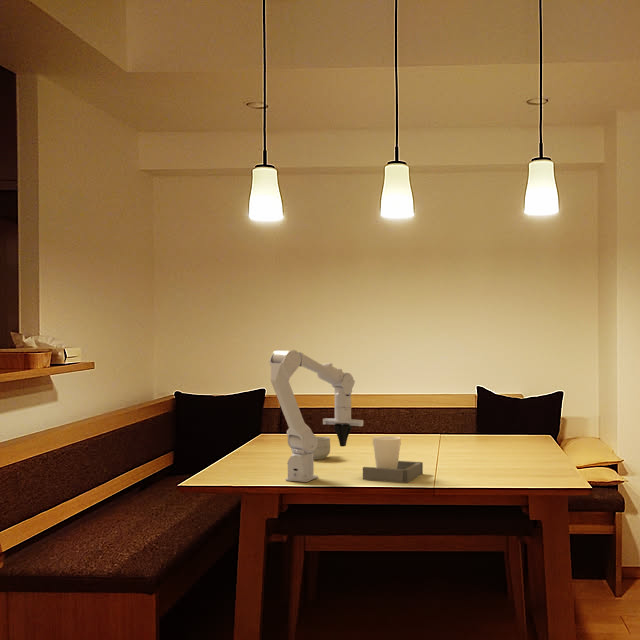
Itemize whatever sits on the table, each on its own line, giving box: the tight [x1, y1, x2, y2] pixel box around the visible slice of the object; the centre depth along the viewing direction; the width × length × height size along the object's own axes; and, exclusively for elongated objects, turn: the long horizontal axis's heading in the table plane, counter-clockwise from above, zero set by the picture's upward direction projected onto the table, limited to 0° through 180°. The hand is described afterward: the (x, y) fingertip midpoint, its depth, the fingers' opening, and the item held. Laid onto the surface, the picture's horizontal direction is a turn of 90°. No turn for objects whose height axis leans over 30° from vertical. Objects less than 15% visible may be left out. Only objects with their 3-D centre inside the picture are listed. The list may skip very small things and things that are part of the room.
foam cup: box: [372, 435, 402, 469], centre depth 280 cm, size 10×9×13 cm
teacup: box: [313, 436, 331, 461], centre depth 318 cm, size 14×11×8 cm
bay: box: [362, 460, 424, 484], centre depth 279 cm, size 17×16×4 cm
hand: (342, 446), depth 286 cm, fingers closed
